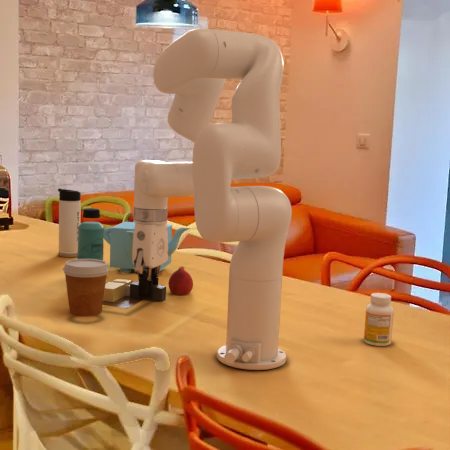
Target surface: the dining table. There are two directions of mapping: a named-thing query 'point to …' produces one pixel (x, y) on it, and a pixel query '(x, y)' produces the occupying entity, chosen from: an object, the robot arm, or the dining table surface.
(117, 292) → the butter
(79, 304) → the disposable coffee cup
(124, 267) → the teakettle
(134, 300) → the board
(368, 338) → the supplement bottle
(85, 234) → the beverage bottle
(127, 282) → the butter slice
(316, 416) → the dining table surface
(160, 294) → the knife
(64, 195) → the travel mug
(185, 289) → the onion
